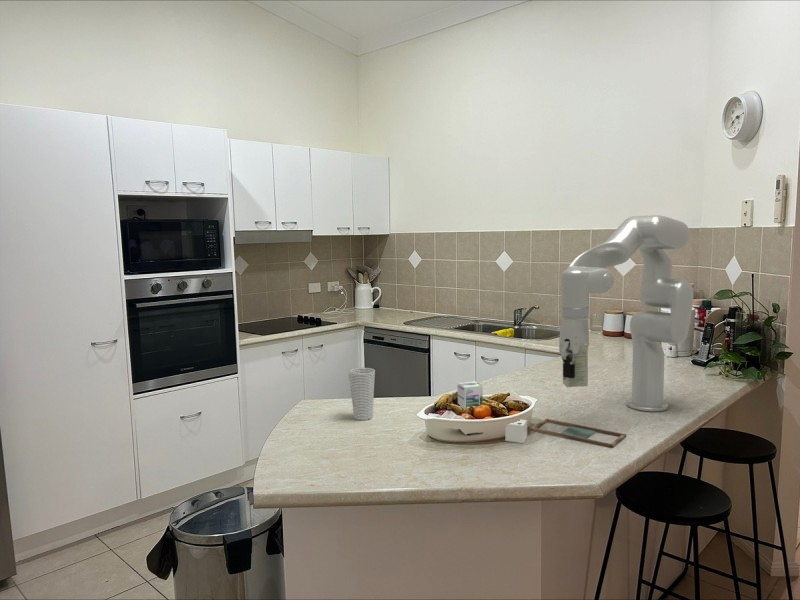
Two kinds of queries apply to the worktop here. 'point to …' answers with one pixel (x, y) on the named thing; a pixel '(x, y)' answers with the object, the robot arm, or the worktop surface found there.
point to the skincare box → (579, 369)
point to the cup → (362, 392)
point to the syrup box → (470, 394)
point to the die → (516, 431)
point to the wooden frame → (579, 433)
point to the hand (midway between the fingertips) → (575, 374)
